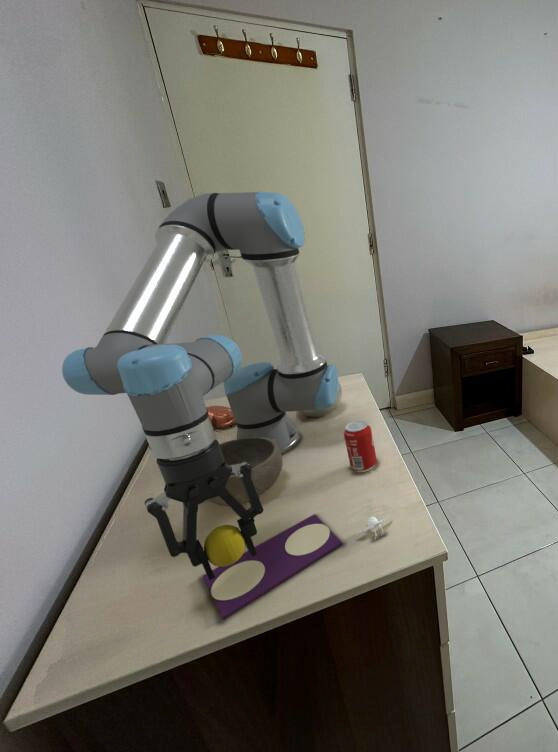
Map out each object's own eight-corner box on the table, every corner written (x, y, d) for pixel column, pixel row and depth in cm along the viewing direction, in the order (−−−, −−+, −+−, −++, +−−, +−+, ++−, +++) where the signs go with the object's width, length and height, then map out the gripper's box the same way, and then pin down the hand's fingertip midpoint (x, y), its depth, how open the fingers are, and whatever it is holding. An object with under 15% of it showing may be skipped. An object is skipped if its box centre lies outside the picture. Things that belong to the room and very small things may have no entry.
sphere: (288, 412, 129) (305, 428, 119) (277, 372, 123) (294, 385, 114) (333, 397, 139) (353, 411, 129) (325, 359, 133) (345, 370, 123)
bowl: (278, 507, 88) (267, 469, 84) (185, 525, 83) (168, 487, 79) (294, 463, 103) (285, 429, 99) (216, 476, 98) (203, 442, 95)
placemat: (203, 578, 71) (202, 575, 71) (315, 516, 85) (314, 513, 85) (223, 619, 64) (222, 617, 63) (342, 544, 77) (341, 541, 77)
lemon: (224, 552, 71) (210, 516, 68) (256, 549, 71) (244, 514, 68) (205, 578, 66) (189, 541, 63) (240, 575, 66) (225, 539, 63)
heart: (185, 406, 121) (184, 426, 110) (233, 397, 128) (237, 416, 117) (190, 423, 123) (189, 445, 112) (236, 414, 130) (240, 434, 119)
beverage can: (382, 461, 103) (375, 421, 98) (366, 476, 97) (358, 434, 93) (362, 457, 104) (354, 417, 100) (345, 471, 99) (336, 430, 94)
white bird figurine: (387, 512, 84) (387, 499, 82) (397, 529, 82) (398, 516, 79) (349, 531, 79) (349, 518, 77) (360, 550, 77) (359, 538, 74)
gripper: (105, 489, 51) (168, 615, 59) (263, 431, 64) (296, 541, 72) (99, 467, 55) (158, 586, 64) (248, 416, 68) (280, 521, 77)
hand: (231, 562), depth 68 cm, fingers closed on lemon, 6 cm apart
